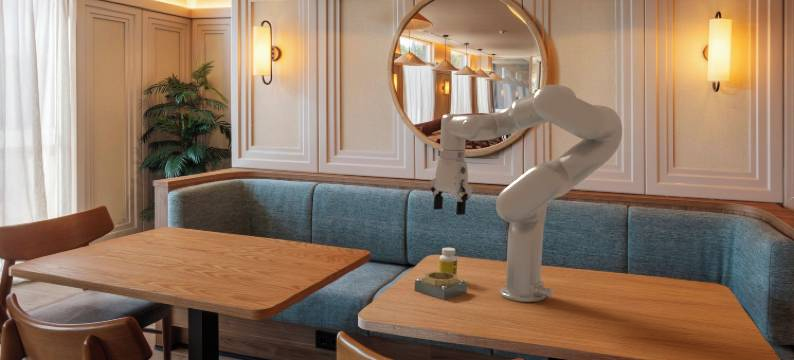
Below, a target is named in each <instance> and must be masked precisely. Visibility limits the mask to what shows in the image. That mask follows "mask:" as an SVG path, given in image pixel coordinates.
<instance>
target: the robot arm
mask: <svg viewBox="0 0 794 360" xmlns="http://www.w3.org/2000/svg"><path fill="white" fill-rule="evenodd" d="M440 120H441V122H440V123H441V124H440V139H439V140H440V141H439V142H440V143H439V158H438V161H437V164H436V168H435V169H436V170H435V177H434V178H432V179H431V180H430V181H429V186H430V190H431V192H432V197H434V198H433V210H436V211H437V210H442V209H443V202H444V197H443V194H444V193H446V194H449V195H455V196H456V198H457V201H456V209H455V210H456V213H455V214H456V215H457V216H462V215H465V214H466V205H467V204H466V203H467V202H468V201H469V199H470V197H471V196H472V193H473V191H474V187H472V186H471V185H470V184H469V171H468V162H467V161H466V160H465V159H466V158H467V154H466V141H469V142H470V141H471V142H474V141H477V142H478V141H488V140H494V139H497V138H501V137H504V136H506V135H507V136H508V135H510V134H514V133H517V132H521V131H523V130H525V129H529V128H533V127H536V126H539V125H543V124H547V123H551V124H553V125H555V126H557V127H559V128H560V129H561V130H562V129H563V130H564V131H566V132H568V133H570V134H571V135H573V136H575V137H577V138H579V139H582V140H580V141H579V142H578V143H576V144H575V145H572V147H570V148H569V149H568V150H567V151H565V152H564V153H563V154H562V155H560V156H559V157H557V158H556V159H554V160H552V161H547V162H543V163H539V164H536V165H535V166H532V167H531V168H529V169H527V171H525V172H524V173H523V174H522V175H520V176H519V177H518V178H517V179H515V180H514V181H513V182H511V183H510V184H508V186H506V187H504V189H502V191H501V192H500V193H499V194H498V196H497V197H496V200H495V201H496V202H495V209H496V212H497V214H498V216H499V217H500V218H501V219H502V220H503V221H505V222H508V223H509V226H508V232H507V233H508V234H507V250H506V251H507V254H506V255H507V256H506V271H505V272H506V273H505V275H506V277H505V286H502V287H501V288H500V290H499V294H500V295H501V296H502V297H503V298H505V299H507V300H510V301H516V302H522V303H532V302H533V303H534V302H541V301H542V300H544V299H546V298H551V296H552V295H553V288H551V287H546V286H545V281H544V280H543V281H542V280H541V279H542V278H541V277H542V262H543V261H542V260H543V259H542V257H543V244H544V243H543V242H544V228H545V227H544V226H545V221H546V215H547V211H548V203H549V202H550V201H551V200H553V199H556V198H560V197H563V196H565V195H566V194H567V193H568V192H570V191H571V190H572V189H574V188H575V187H576V186H577V185H578V184H580V183H581V182H583V181H584V180H586V179H587V178H588V177H589V176H591V175H592V174H593V173H594V172H595V171H597V170H598V169H599V168H601V167H602V166H603V165H604V164H605V163H607V162H608V161H609V160H610V159H611V158H612V157H613V156H614V154H615V153H616V152H617V150H618V148H619V147H620V144H621V141H622V136H623V126H622V121H621V119H620V116H619V115H618V113H617V112H616V110H614V109H612V108H611V107H608V106H607V105H606V106H605V105H598V104H597V105H595V104H591V103H589V102H587V101H584V100H583V99H581V98H579V97H577V95H576V94H575V92H574V91H573V89H571V88H570V87H568V86H565V85H558V84H545V85H544V86H543V85H542V87H540V88H539V89H538V90H536V92H535V93H532V94H529V95H526V96H523V97H520V98H516V99H515V100H513V102H512V103H511V106H509V107H507V108H505V109H500V110H499V111H495V112H492V113H488V114H460V113H459V114H456V113H445V114H444V115H442V117H441V119H440Z"/></svg>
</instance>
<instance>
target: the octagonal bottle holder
mask: <svg viewBox="0 0 794 360" xmlns="http://www.w3.org/2000/svg"><path fill="white" fill-rule="evenodd" d="M467 289H468V282H467V281H465V280H464V279H463V280H462V279H461V280H460V279H458V276H457V275H456V274H453V273H449V272H439V271H430V272H427V273H425V274H424V277H422V278H416V280H414V291H415V292H418V293H421V294H425V295H427V296H431V297H435V298H438V299H441V300H443V301H444V300H449V299H451V298H454V297H457V296H461V295H463V294H466V293H468V292H467V291H468V290H467Z"/></svg>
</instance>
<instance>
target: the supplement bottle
mask: <svg viewBox="0 0 794 360" xmlns="http://www.w3.org/2000/svg"><path fill="white" fill-rule="evenodd" d="M441 253H442V254H441V255H439V258H438V259H439V266H438V272H449V273H453V274H456V275H457V271H458V269H457V268H458V257H457V256H456V248H453V247H443V248H441Z"/></svg>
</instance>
